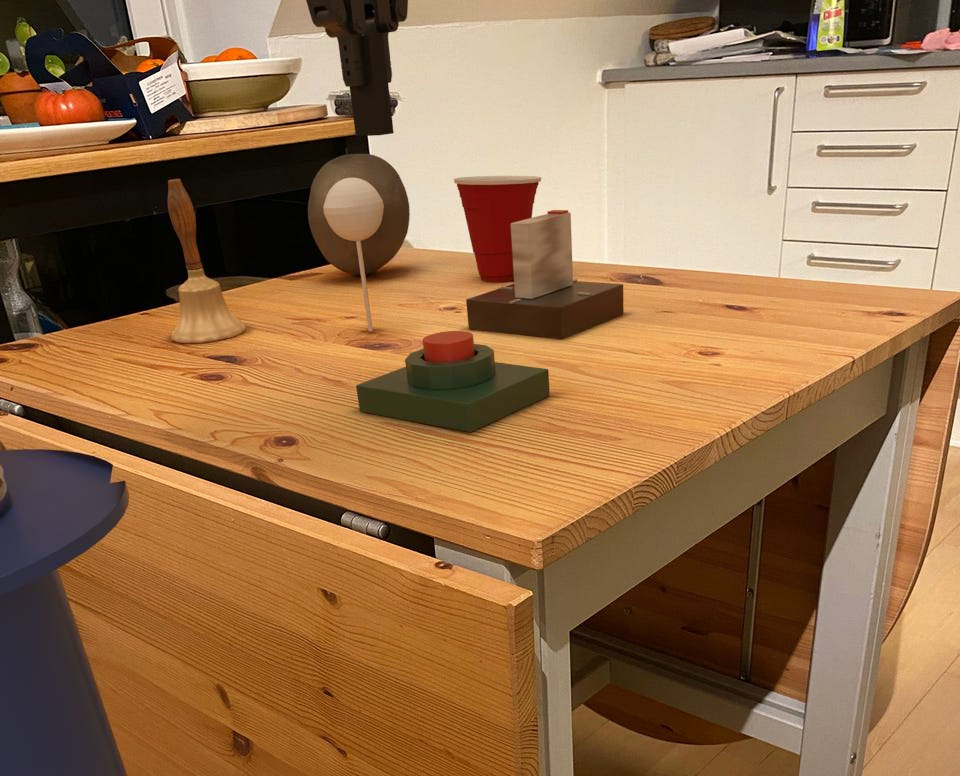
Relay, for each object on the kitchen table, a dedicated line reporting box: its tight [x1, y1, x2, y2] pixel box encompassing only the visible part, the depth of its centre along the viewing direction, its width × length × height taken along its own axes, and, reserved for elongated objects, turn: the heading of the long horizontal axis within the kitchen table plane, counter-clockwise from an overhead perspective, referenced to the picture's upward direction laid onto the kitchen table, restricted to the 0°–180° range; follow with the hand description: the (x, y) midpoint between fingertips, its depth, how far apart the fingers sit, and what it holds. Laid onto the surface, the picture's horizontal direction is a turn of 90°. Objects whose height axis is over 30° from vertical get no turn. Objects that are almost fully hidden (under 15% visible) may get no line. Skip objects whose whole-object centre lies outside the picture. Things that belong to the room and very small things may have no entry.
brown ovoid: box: [307, 153, 411, 276], centre depth 131 cm, size 14×14×15 cm
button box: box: [355, 343, 551, 433], centre depth 79 cm, size 12×10×4 cm
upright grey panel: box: [511, 209, 574, 299], centre depth 99 cm, size 7×2×7 cm, turn 140°
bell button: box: [422, 330, 475, 363], centre depth 78 cm, size 4×4×2 cm
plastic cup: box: [453, 175, 543, 283], centre depth 122 cm, size 11×11×12 cm
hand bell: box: [167, 178, 247, 344], centre depth 107 cm, size 8×8×16 cm
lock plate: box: [465, 278, 625, 340], centre depth 101 cm, size 12×11×3 cm
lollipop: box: [323, 178, 384, 333], centre depth 101 cm, size 6×6×15 cm
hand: (374, 134), depth 75 cm, fingers closed
